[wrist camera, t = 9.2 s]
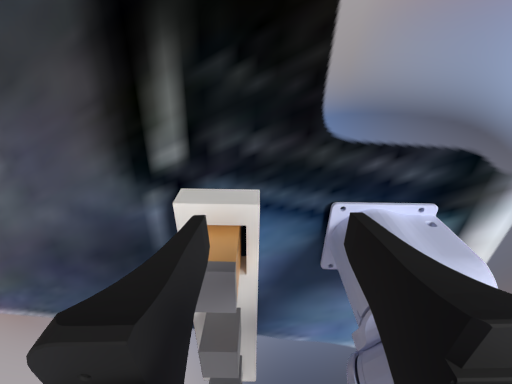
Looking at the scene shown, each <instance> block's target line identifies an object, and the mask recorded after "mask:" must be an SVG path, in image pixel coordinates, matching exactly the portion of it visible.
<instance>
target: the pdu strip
mask: <svg viewBox="0 0 512 384" xmlns="http://www.w3.org/2000/svg"><path fill="white" fill-rule="evenodd" d="M173 209H174V214H175V220H176V226H177V231H179V230H180V229H181V228H182V227H183V226H184V225H185V223H186V222H187V221H188V220H189V219H190V218H191V217H192V216H193V215H206V221H207V225H238V226H246V256H241V262H240V274H239V285H238V297H237V309H236V313H209V312H195V314H194V319H193V322H194V328H195V334H196V339H197V344H198V353H199V358H200V364H201V369H202V375H203V379H204V380H209V384H242V381H256V346H257V344H256V343H257V304H258V260H259V217H260V190H243V189H181V190H180V191H179V193H178V195H177V196H176V198H175V200H174V202H173Z"/></svg>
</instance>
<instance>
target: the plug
mask: <svg viewBox="0 0 512 384" xmlns="http://www.w3.org/2000/svg"><path fill="white" fill-rule="evenodd" d="M207 228H208V235H209V242H210V250H209V258H208V264H207V268H206V272H205V276H204V279H203V283H202V287H201V290H200V294H199V298H198V301H197V305H196V309H195V312H209V313H236V309H237V297H238V285H239V274H240V262H241V226H238V225H207Z"/></svg>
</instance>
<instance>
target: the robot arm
mask: <svg viewBox="0 0 512 384" xmlns="http://www.w3.org/2000/svg"><path fill="white" fill-rule="evenodd" d="M343 206H344V208H343V209H340V208H341V207H343ZM420 208H421V209H420ZM419 209H420V210H419ZM437 211H438V207H437V206H436V205H435V204H424V203H362V202H335V203H333V204H332V205H331V209H330V214H329V220H328V225H327V231H326V236H325V241H324V247H323V252H322V257H321V263H320V265H321V267H322V268H323V269H338V271H339V274H340V277H341V280H342V282H343V285H344V288H345V291H346V293H347V296H348V299H349V302H350V304H351V307H352V310H353V313H354V315H355V318H356V321H357V324H358V326H359V329H357V330H356V331H355V332H354V333H352V337H353V340H354V343H355V346H356V350H357V351H356V352H354V353H352V354H351V355H350V357H349V359H348V363H347V382H348V383H347V384H512V294H510V293H507V292H505V291H502V290H499V289H498V287H497V284H496V281H495V279H494V277H493V274H492V273H491V271H490V269H489V267H488V266H487V265H486V263H485V262H484V261H483V260H482V259H481V258H480V257H479V256H478V255H477V254H476V253H475V252H474V251H473V250H472V249H471V248H469V247H468V246H467V245H466V244H465V243H464V242H463V241H462V240H461V239H460V238H459V237H458V236H456V235H455V234H454V233H453V232H452V231H451V230H450V229H449V228H448V227H447V226H446V225H445V224H444V223H442V222H441V221H440V220H439V219H438V218H437V217H436V213H437ZM209 250H210V242H209V235H208V228H207V221H206V215H193V216H192V217H191V218H190V219H189V220H188V221H187V222H186V223H185V225H184V226H183V227H182V228H181V229H180V230H179V231H178V232H177V233H176V234H175V235H174V236H173V237H172V238H171V239H170V240H169V241H168V242H167V243H166V244H165V245H164V246H163V247H162V248H161V249H160V250H159V251H158V252H157V253H156V254H154V255H153V256H152V257H151V258H150V259H148V260H147V261H146V262H145V263H143V264H142V265H141V266H139V267H138V268H137V269H135V270H134V271H132V272H131V273H129V274H128V275H126V276H125V277H123V278H122V279H120V280H119V281H118V282H116V283H114V284H113V285H111V286H109V287H108V288H106V289H104V290H103V291H101V292H99V293H97V294H95V295H94V296H92V297H90V298H88V299H86V300H84V301H82V302H80V303H78V304H76V305H74V306H72V307H70V308H68V309H66V310H64V311H62V312H60V313H58V314H57V315H56V316H55V317H54V318H53V320H52V321H51V323H50V324H49V325H48V326H47V328H46V329H45V330H44V332H43V333H42V334H41V336H40V337H39V339H38V340H37V341H36V343H35V344H34V345H33V347H32V348H31V349H30V351H29V353H28V354H27V356H26V357H27V364H28V366H29V368H30V369H31V371H32V372H33V373H34V374H35V375H36V376H37V377H38V379H39V380H40V381H41V382H42V383H43V384H184V378H185V371H186V364H187V357H188V350H189V344H190V337H191V331H192V325H193V319H194V314H195V309H196V305H197V301H198V298H199V294H200V290H201V287H202V283H203V279H204V276H205V272H206V268H207V264H208V258H209ZM330 264H331V265H330Z"/></svg>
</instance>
